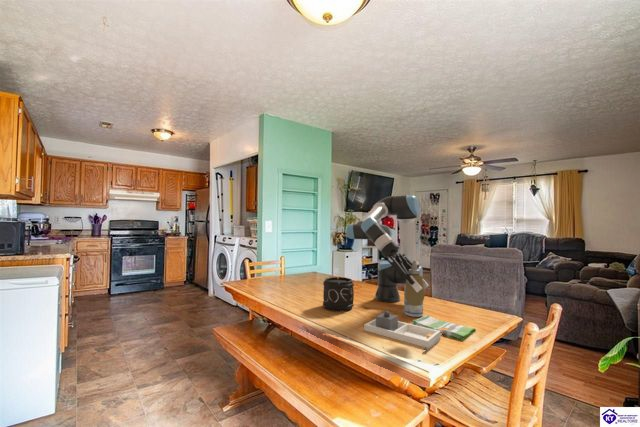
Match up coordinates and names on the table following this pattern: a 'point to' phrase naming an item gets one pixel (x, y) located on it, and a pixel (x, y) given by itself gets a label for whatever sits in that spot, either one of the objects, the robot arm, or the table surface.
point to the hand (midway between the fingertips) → (423, 288)
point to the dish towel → (452, 329)
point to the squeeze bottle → (410, 293)
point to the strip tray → (407, 333)
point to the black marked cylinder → (338, 294)
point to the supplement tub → (412, 309)
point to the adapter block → (387, 321)
